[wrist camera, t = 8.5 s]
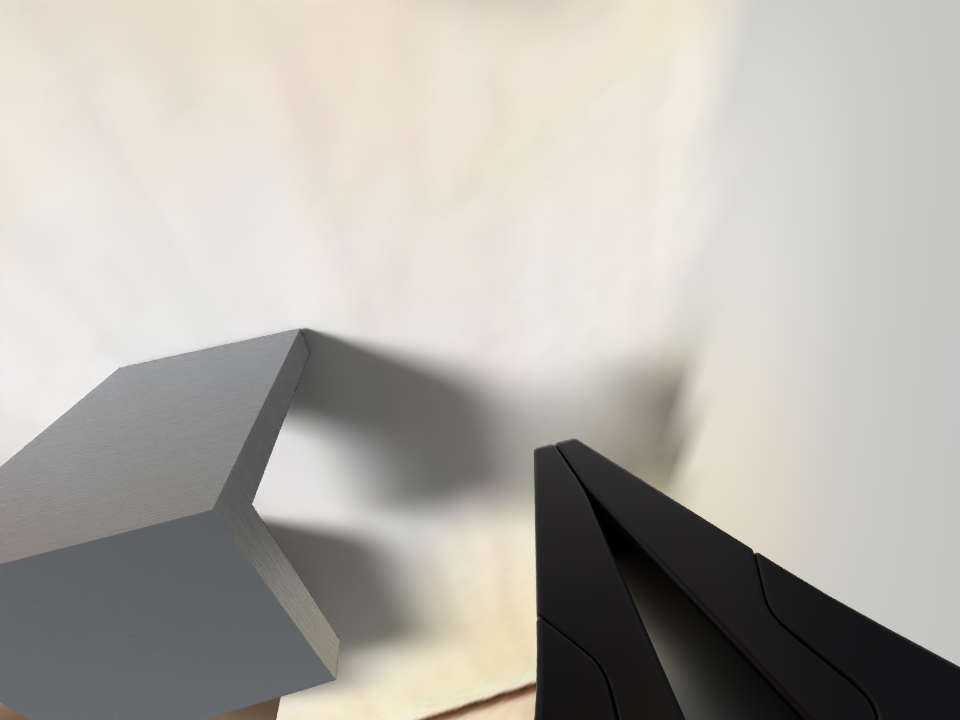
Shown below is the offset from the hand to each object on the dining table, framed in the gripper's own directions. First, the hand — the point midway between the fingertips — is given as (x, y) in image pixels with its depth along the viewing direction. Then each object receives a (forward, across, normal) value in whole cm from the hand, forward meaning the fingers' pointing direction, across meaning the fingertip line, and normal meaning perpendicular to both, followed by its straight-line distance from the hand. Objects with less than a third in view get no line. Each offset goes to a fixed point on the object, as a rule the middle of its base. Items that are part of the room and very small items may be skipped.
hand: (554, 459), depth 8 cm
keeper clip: (+6, +8, +1) cm, 10 cm away
